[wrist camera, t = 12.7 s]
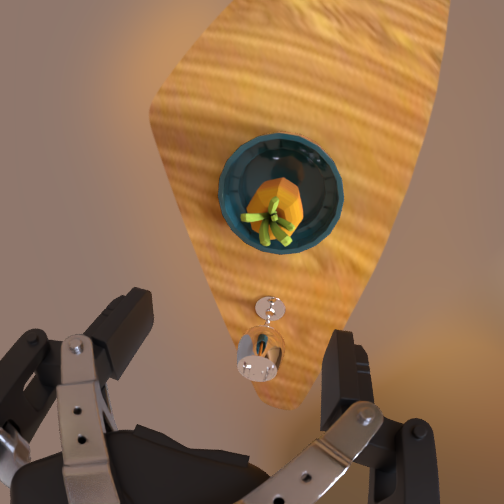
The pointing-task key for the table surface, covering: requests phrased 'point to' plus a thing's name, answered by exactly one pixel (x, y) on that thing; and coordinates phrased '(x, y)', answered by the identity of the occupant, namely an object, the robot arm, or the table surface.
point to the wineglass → (262, 343)
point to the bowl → (293, 169)
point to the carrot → (275, 211)
